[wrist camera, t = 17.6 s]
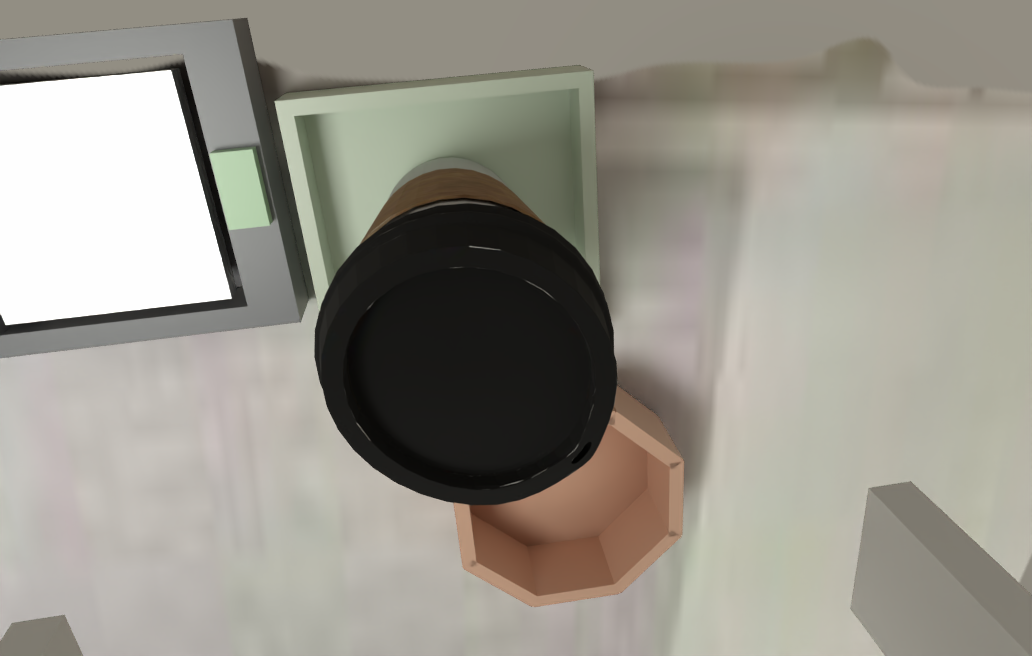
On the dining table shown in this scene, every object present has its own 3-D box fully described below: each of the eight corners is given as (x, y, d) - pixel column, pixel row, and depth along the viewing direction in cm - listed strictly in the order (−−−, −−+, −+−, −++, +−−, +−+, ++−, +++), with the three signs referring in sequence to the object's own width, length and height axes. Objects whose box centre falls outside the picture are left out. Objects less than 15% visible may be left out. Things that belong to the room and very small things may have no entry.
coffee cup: (476, 342, 34) (509, 565, 21) (318, 248, 32) (239, 436, 18) (583, 199, 32) (699, 347, 19) (423, 84, 29) (422, 160, 16)
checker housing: (-10, 337, 32) (-50, 370, 29) (-133, 51, 27) (-197, 56, 24) (308, 300, 33) (298, 327, 30) (247, 17, 28) (228, 20, 25)
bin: (465, 558, 41) (469, 617, 37) (440, 387, 36) (443, 434, 32) (656, 529, 41) (681, 584, 38) (657, 359, 37) (685, 401, 33)
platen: (17, 315, 30) (5, 325, 29) (-74, 91, 26) (-91, 94, 25) (237, 289, 31) (231, 298, 30) (179, 68, 27) (170, 70, 26)
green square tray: (340, 357, 35) (334, 384, 32) (286, 93, 29) (274, 101, 27) (589, 326, 35) (602, 350, 33) (579, 64, 30) (593, 70, 28)
